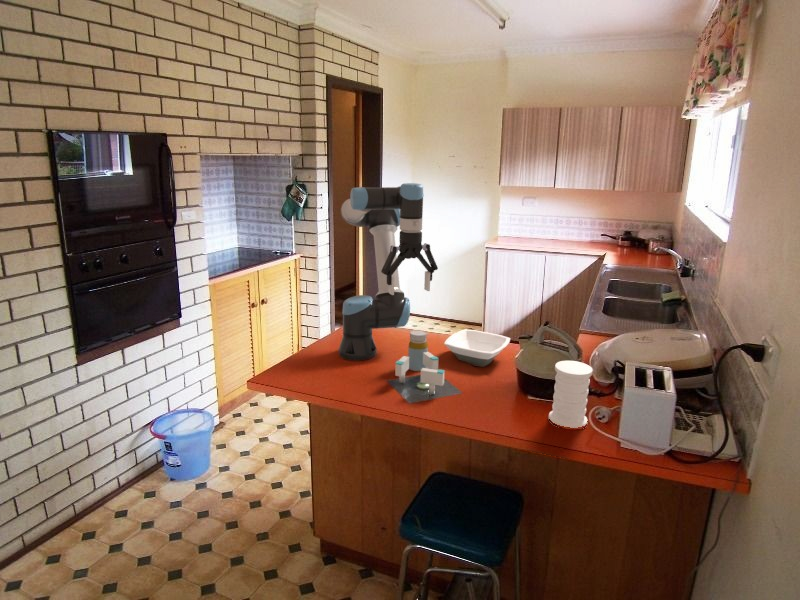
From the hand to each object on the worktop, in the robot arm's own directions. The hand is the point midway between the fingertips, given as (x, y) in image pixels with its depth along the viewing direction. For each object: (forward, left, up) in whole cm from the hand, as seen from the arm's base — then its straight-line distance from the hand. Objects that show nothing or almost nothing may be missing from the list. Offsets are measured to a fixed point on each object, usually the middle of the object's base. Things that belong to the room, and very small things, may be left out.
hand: (409, 292), depth 191 cm
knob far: (+4, +7, -31) cm, 33 cm away
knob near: (+4, -4, -31) cm, 32 cm away
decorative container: (+47, +33, -33) cm, 66 cm away
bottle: (-6, +7, -33) cm, 34 cm away
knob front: (+16, +2, -31) cm, 35 cm away
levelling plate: (+10, +2, -33) cm, 34 cm away
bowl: (-6, +33, -33) cm, 47 cm away
